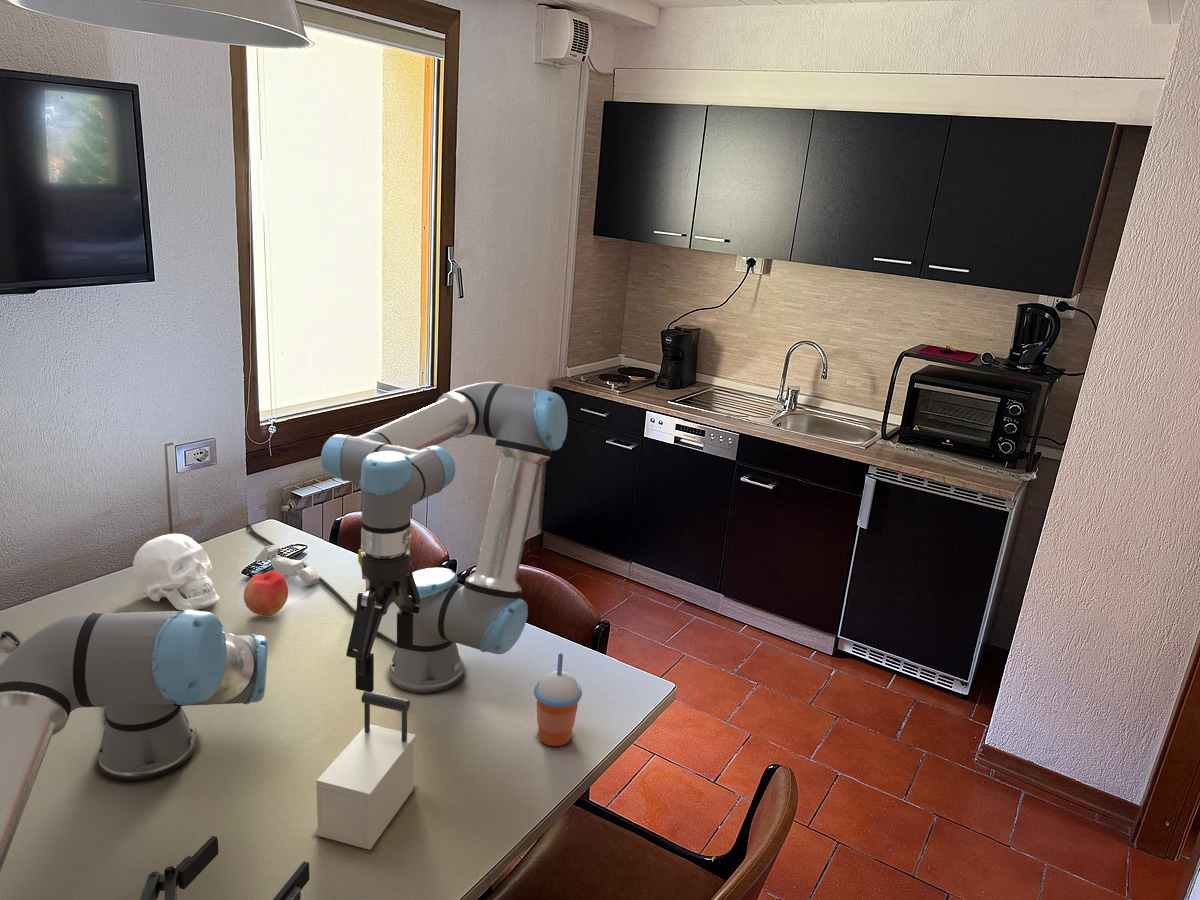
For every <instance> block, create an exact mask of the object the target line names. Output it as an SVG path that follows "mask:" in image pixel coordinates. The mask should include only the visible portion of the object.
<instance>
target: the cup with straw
mask: <svg viewBox="0 0 1200 900" xmlns="http://www.w3.org/2000/svg"><path fill="white" fill-rule="evenodd" d="M563 660H564V654H563V653H562V652H560V653H558V654H557V665H556V666H557V667H556V668H557V669H556V670H553V671H549V672H548V673H546V674H544V675H543V676H542V677H541V678H540V680H539V681H537V682H536V684H535V686H534V688H533V695H534V697H535V699H536V723H537V726H538V738H539V740H540V742H542V743H543V744H544V745H548V746H551V747H559V746H564V745H566V744H567V743H569V742H570V740H571V737H572V733H573V727H575V723H576V716H577V712H578V705H579V701H580V700H581V699H582V695H583V689H582V687H581V685H580V684H579V683H578V682H577V679H576V678H575V677H574V676H573V675H572V674H570V673H569V672H567V671H564V670H563V662H564V661H563Z"/></svg>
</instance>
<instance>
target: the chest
mask: <svg viewBox="0 0 1200 900" xmlns="http://www.w3.org/2000/svg"><path fill="white" fill-rule="evenodd" d="M414 770H415V743H414V744H413V746H412V747H411V748H410V750H409V751H408V752H407V753H406V755H405V756H404V757H403V759H402V760H401V761H400V762H399V764H398V765H397V766H396V768H395V769H394V770H393V771H392V773H391V774H390V775H389V777H388V778H387V779H386V781H385V782H384V783H383V784H382V786H381V787H380V788H379V790H378V791H377V792H376V793H375V795H374V796H373V797H372V799H371V800H370V801H369V800H365V799H361V798H357V797H353V796H350V795H346V794H342V793H338V792H334V791H330V790H327V789H323V788H319V787H317V786H316V817H317V818H316V819H317V821H316V823H317V836H318V837H321V838H325V839H329V840H332V841H336V842H340V843H344V844H347V845H350V846H354V847H358V848H362V849H365V850H369V851H370V850H371V849H372V848H373V847H374V846H375V844H376V842H377V841H378V840H379V838H380V837H381V835H382V834H383V833H384V831H385V830H386V829H387V827H388V825H389V824H390V823H391V821H392V820H393V818H394V817H395V815H396V814H397V813H398V812H399V810H400V809H401V808H402V806H403V804H404V803H405V802H406V800H407V799H408V798H409V796H410V795H411V793H412V792H413V791H414V781H415V780H414V777H415V776H414V775H415V774H414V772H415V771H414Z"/></svg>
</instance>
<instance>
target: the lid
mask: <svg viewBox="0 0 1200 900" xmlns="http://www.w3.org/2000/svg"><path fill="white" fill-rule="evenodd" d="M361 703H363V704H364V705H363V706H364V710H363V711H364V726H363V727H362V728H361V730H360V731H359V732H358V733H357V734H356V735H355V736H354V737H353V739H352V740H351V741H350V742H349V743H348V744H347V745H346V746H345V747H344V749H343V750H342V751H341V752H340V754H338V755H337V756H336V758H335V759H334V760H333V761H332V762H331V763H330V765H328V767H326V769H325V770H324V771H323V772H322V773H321V774H320V776H319V777H318V778H317V779H316V788H317V787H319V788H323V789H327V790H330V791H334V792H338V793H342V794H346V795H350V796H353V797H357V798H361V799H365V800H369V801H370V800H371V799H372V797H373V796H374V795H375V793H376V792H377V791H378V790H379V788H380V787H381V786H382V784H383V783H384V782H385V781H386V779H387V778H388V777H389V775H390V774H391V773H392V771H393V770H394V769H395V768H396V766H397V765H398V764H399V762H400V761H401V760H402V759H403V757H404V756H405V755H406V753H407V752H408V751H409V750H410V748H411V747H412V746H413V744H414V745H415V743H416V742H417V734H414V733H410V732H408V711H409V710H410V706H411V701H410V699H406V698H402V697H399V696H398V697H397V696H393V695H388V694H383V693H380V692H376V691H372V692H367V691H363V693H362V695H361ZM371 706H374V707H379V708H384V709H388V710H393V711H397V712H400V713H401V730H397V729H393V728H389V727H384V726H380V725H376V724H372V723H371Z"/></svg>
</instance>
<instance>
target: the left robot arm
mask: <svg viewBox="0 0 1200 900" xmlns="http://www.w3.org/2000/svg"><path fill="white" fill-rule="evenodd" d="M223 627H224V626H223V623H222V622H221V620H220V619H219V617H218V616H217V615H216V614H214V613H212V612H210V611H204V610H203V611H201V610H198V609H195V610H171V611H170V610H169V611H134V612H133V611H132V612H131V611H130V612H101V613H100V612H85V613H77V614H73V615H69V616H67V617H63V618H60V619H58V620H56V621H54V622H52V623H50V624H48V625H46V626H45V627H42V628H41V629H40V630H38V631H37V632H35V633H33V634H32V635H31V636H29V637H28V638H27V639H25V640H24V641H23V642H22V643H21V644H20V642H21V640H20V639H19V638H18V637H17V636H16V634H14V633H12V632H11V631H7V630H5V631H4V632H3V633H4V634H6V635H4V634H3V633H2V634H1V637H3V638H5V637H8V638H10V639H11V640H12V641H13V640H14V641H15V642H17V643H18V644H17V643H15V642H14V641H13V642H14V643H15V645H16V648H15V649H14V650H13V651H12V652H10V654H9V655H8V656H7V657H6V658H5V659H3V661H2V662H1V663H0V873H1V872H2V870H3V866H4V864H5V861H6V858H7V856H8V853H9V850H10V847H11V845H12V843H13V840H14V837H15V835H16V832H17V829H18V826H19V824H20V821H21V819H22V816H23V813H24V811H25V808H26V806H27V804H28V800H29V797H30V795H31V793H32V789H33V787H34V784H35V782H36V779H37V777H38V773H39V771H40V768H41V765H42V763H43V760H44V758H45V756H46V752H47V750H48V747H49V745H50V742H51V740H52V737H53V736H55V735H57V734H58V733H60V732H61V731H63V730H64V728H65V727H66V725H67V723H68V720H69V717H70V715H71V713H72V712H73V711H75V710H77V709H81V708H104V712H105V720H106V723H105V727H104V730H103V734H102V737H101V742H100V744H99V747H98V752H97V761H98V767H99V770H100V772H101V773H102V774H104V775H105V776H106V777H108V778H110V779H113V780H117V781H123V782H137V781H138V782H139V781H140V782H141V781H146V780H151V779H155V778H158V777H161V776H164V775H166V774H168V773H170V772H172V771H174V770H176V769H178V768H179V767H181V766H182V765H183V764H185V763H186V762H188V760H189V759H190V758H191V757H192V756H193V754H194V753H195V750H196V746H197V745H196V744H197V742H196V741H197V740H196V736H197V734H198V733H197V728H195V729H194V728H193V726H192V725H191V723H190V721H189V718H188V716H187V715H186V713H185V711H184V709H183V707H186V706H188V707H189V706H208V705H209V706H210V705H233V704H235V705H237V704H244V705H249V704H251V703H252V704H253V703H259V702H261V701H262V700H263V699H264V698H265V693H266V681H267V668H268V667H267V665H268V646H269V645H268V638H267V637H266V636H265V635H263V634H254V633H250V634H240V635H239V634H238V635H237V634H236V635H235V634H233V633H228V632H225V631H224V630H223ZM19 644H20V646H19ZM218 855H219V838H218V836H216V835H212V836H210V837H209V838H208V839H207V841H205V842H204V844H202V845H201V846H200V847H199V848H198V849H197V850H196V852H194V854H193V855H192V856H191V855H187V856H186V857H184V859H182V861H180V863H178V864H177V865H176V866H173V865H171V866H167V867H165V868H164V871H163V874H160V872H159V871H155V870H154V871H152V872H150V873H149V874H148V876H147V879H146V882H145V883H144V887H143V889H142V892H141V895H140V898H139V900H158V899H159V897H160V894H161V892H164V900H178V889H180V890H183V891H185V890H186V889H187V888H188V886H190V884H192V883H193V881H194V880H196V878H197V877H198V876H199V875H200V874H201V873H202V872H203V871H204V870H205V869H206V868H207V867H208V865H209V864H211V862H212V861H213V860H215V858H216V857H217V856H218ZM309 881H310V862H308V861H305V860H304V861H302V863H301V864H300V865H299V866H298V868H297V869H296V870H295V871H294V873H293V874H292V875H291V876H290V878H289V879H288V880H287V881H286V883H285V884H284V885H283V886H282V887H281V888H280V890H279V891H278V892H277V894H276V895H275V896H274V897H273V899H272V900H301V897H302V890H303V889H304V888H305V886H306V885H307V884H308V882H309ZM177 887H178V888H177Z"/></svg>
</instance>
